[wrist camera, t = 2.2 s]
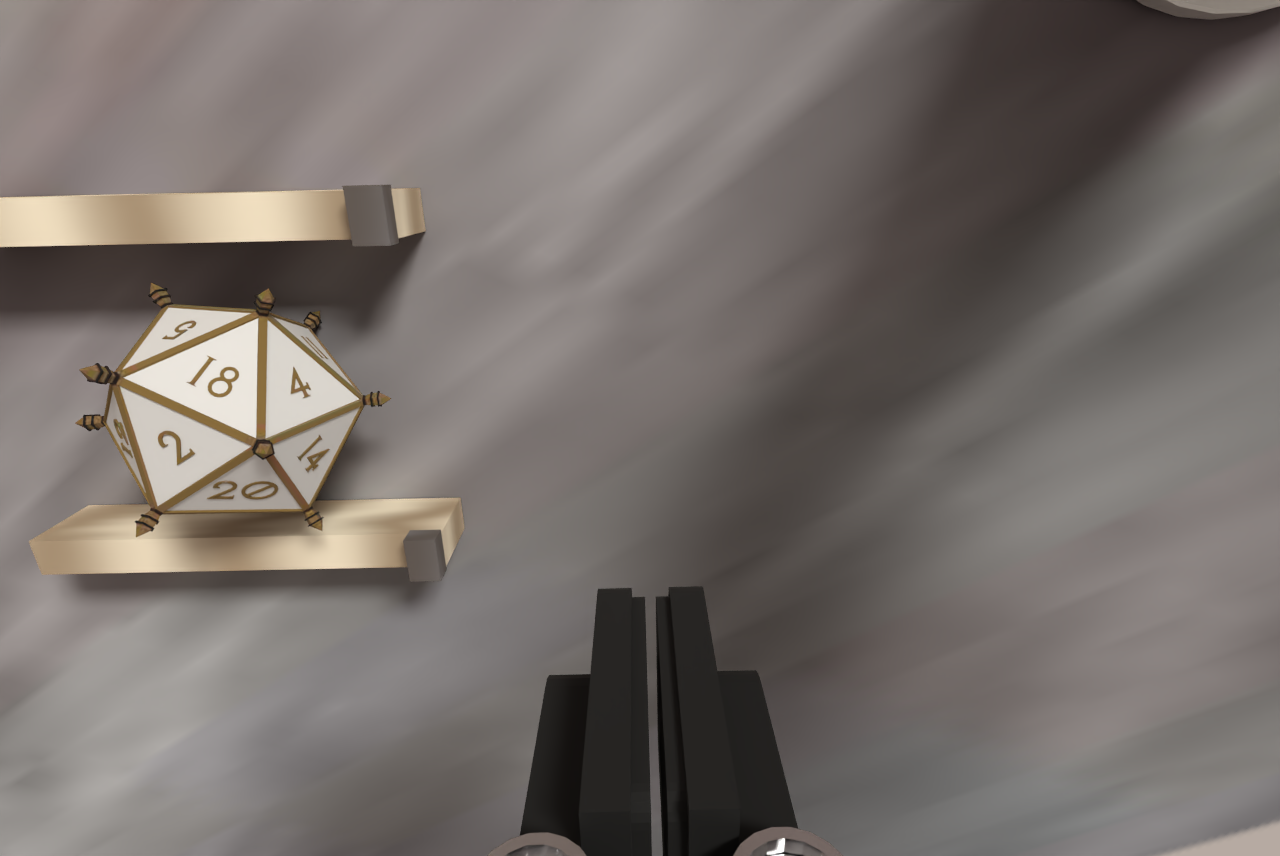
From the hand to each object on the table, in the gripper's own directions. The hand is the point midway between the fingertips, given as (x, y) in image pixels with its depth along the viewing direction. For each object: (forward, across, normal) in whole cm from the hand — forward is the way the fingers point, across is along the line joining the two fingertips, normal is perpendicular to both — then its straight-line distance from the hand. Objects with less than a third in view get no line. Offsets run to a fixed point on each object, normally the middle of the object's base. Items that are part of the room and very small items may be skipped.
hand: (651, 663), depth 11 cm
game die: (+17, +14, 0) cm, 22 cm away
